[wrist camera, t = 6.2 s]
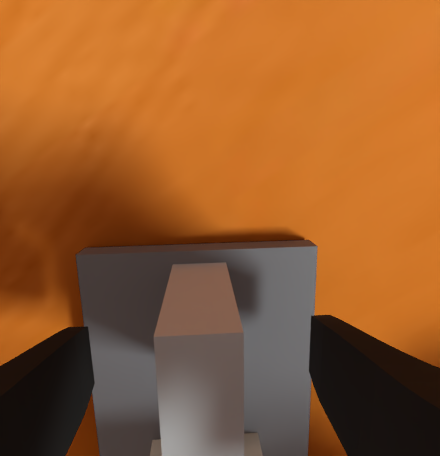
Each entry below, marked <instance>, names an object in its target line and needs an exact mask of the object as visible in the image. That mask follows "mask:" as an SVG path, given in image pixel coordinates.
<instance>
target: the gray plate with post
mask: <svg viewBox="0 0 440 456" xmlns="http://www.w3.org/2000/svg"><path fill="white" fill-rule="evenodd" d="M76 263H77V271H78V279H79V288H80V296H81V304H82V312H83V321H84V327H86V326H88V330H89V339H90V347H91V356H92V364H93V373H94V381H95V384H94V387H93V390H92V395H93V403H94V412H95V420H96V428H97V437H98V445H99V453H100V456H150V451H151V446H152V440H158V439H161V449H162V456H244V434H245V433H258V436H259V441H260V446H261V450H262V455H263V456H308V440H309V418H310V396H311V376H310V373H309V353H310V330H311V316H314V309H315V287H316V266H317V246H316V245H315V244H314V243H312V242H311V241H310V240H289V241H261V242H232V243H204V244H175V245H147V246H118V247H90V248H84V249H83V250H82V251H80V252H79V253H78V254H76Z"/></svg>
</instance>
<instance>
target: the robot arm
mask: <svg viewBox="0 0 440 456" xmlns="http://www.w3.org/2000/svg"><path fill="white" fill-rule="evenodd" d="M309 373H310V376H311V379H312V382H313V385H314V387H315V390H316V393H317V395H318V398H319V401H320V403H321V405H322V407H323V409H324V411H325V413H326V415H327V416H328V418H329V420H330V422H331V424H332V426H333V428H334V430H335V432H336V434H337V436H338V438H339V440H340V442H341V444H342V445H343V447H344V449H345V451H346V453H347V455H348V456H440V368H438V367H435V366H433V365H430V364H428V363H426V362H423V361H421V360H419V359H417V358H415V357H413V356H410V355H408V354H406V353H404V352H402V351H400V350H398V349H396V348H394V347H392V346H390V345H388V344H386V343H384V342H382V341H380V340H378V339H376V338H374V337H372V336H370V335H368V334H367V333H365V332H363V331H361V330H359V329H357V328H355V327H353V326H352V325H350V324H348V323H346V322H344V321H342V320H340V319H338V318H336V317H333V316H331V315H317V316H311V330H310V353H309ZM94 384H95V381H94V373H93V364H92V356H91V347H90V339H89V330H88V326H86V327H68V328H66V329H64V330H62V331H60V332H58V333H56V334H54V335H53V336H51V337H49V338H47V339H46V340H44V341H42V342H41V343H39V344H37V345H36V346H34V347H32V348H31V349H29V350H27V351H25V352H24V353H22V354H20V355H19V356H17V357H15V358H14V359H12V360H10V361H9V362H7V363H5V364H3V365H1V366H0V456H65V455H66V453H67V451H68V449H69V447H70V445H71V443H72V441H73V439H74V436H75V434H76V432H77V430H78V428H79V426H80V424H81V421H82V419H83V417H84V415H85V412H86V409H87V406H88V403H89V400H90V397H91V394H92V390H93V387H94Z"/></svg>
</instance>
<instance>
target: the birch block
mask: <svg viewBox="0 0 440 456" xmlns="http://www.w3.org/2000/svg"><path fill="white" fill-rule="evenodd" d="M150 456H162V449H161V439H158V440H152V446H151V451H150ZM244 456H263V455H262V450H261V446H260V441H259V436H258V433H245V434H244Z"/></svg>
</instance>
